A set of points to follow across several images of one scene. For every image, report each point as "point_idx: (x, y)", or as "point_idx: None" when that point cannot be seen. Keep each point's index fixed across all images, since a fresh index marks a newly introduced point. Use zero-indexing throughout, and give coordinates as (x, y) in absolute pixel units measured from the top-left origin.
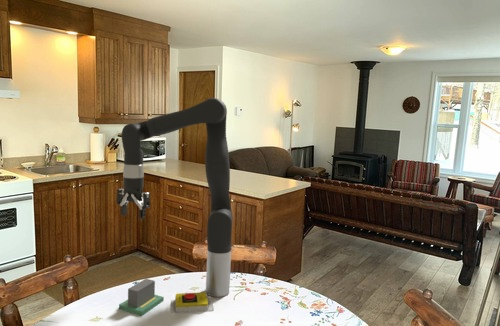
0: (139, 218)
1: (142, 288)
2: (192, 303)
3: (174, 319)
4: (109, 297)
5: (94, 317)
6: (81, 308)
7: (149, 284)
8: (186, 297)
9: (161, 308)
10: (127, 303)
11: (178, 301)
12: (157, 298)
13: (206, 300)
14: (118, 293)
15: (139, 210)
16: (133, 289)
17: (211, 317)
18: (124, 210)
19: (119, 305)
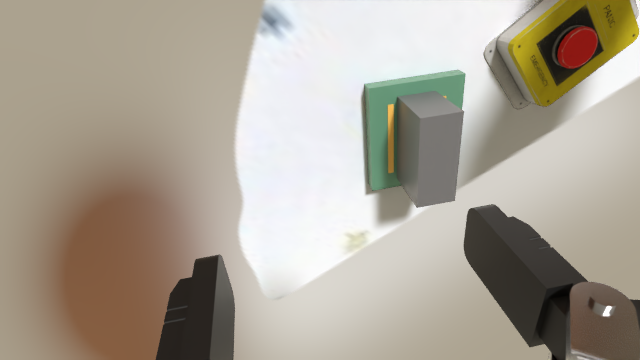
0: (466, 255)
1: (456, 177)
2: (589, 68)
3: (538, 130)
4: (289, 161)
5: (347, 241)
6: (280, 239)
7: (460, 142)
8: (572, 67)
9: (477, 109)
10: (388, 173)
11: (540, 85)
12: (452, 95)
13: (631, 19)
14: (289, 126)
15: (524, 336)
16: (435, 200)
17: (636, 58)
18: (228, 337)
19: (373, 189)
